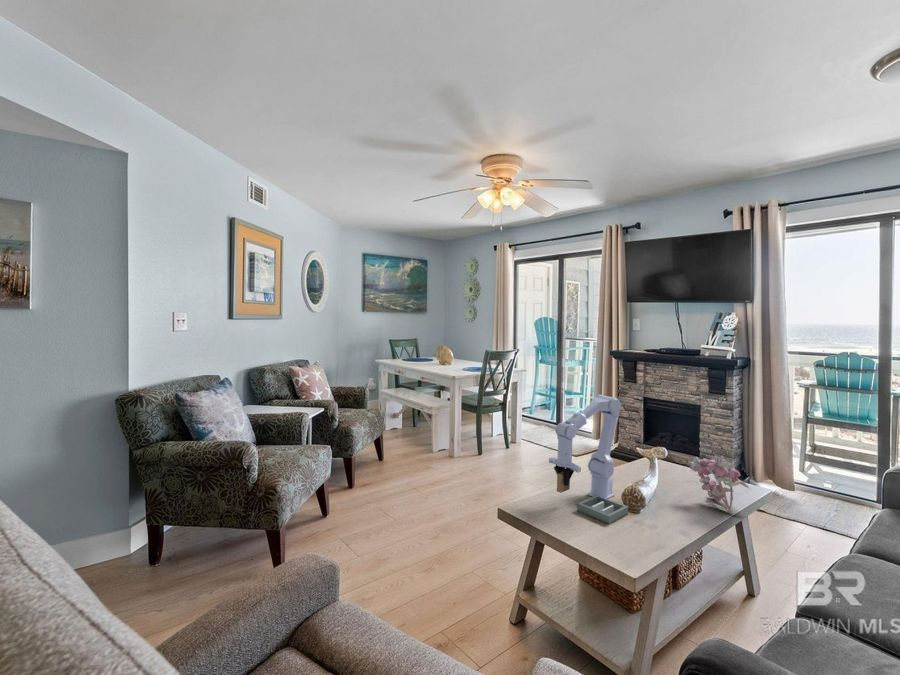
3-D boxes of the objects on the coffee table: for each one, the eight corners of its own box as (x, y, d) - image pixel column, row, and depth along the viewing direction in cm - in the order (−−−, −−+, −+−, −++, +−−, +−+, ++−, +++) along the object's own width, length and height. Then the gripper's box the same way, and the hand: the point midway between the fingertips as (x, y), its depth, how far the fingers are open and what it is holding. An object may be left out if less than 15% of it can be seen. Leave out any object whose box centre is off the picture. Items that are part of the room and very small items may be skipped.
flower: (769, 509, 179) (746, 449, 188) (743, 516, 167) (720, 451, 176) (721, 513, 194) (702, 456, 203) (694, 520, 182) (675, 459, 191)
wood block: (565, 487, 185) (566, 470, 184) (569, 489, 183) (570, 471, 183) (556, 491, 181) (557, 473, 181) (560, 492, 180) (561, 475, 179)
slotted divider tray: (596, 502, 186) (596, 494, 186) (627, 514, 176) (628, 506, 175) (577, 511, 177) (577, 503, 177) (609, 524, 167) (609, 516, 166)
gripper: (544, 449, 184) (543, 481, 185) (574, 458, 173) (572, 492, 174) (555, 446, 189) (553, 477, 190) (584, 455, 178) (583, 488, 179)
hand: (563, 484), depth 182 cm, fingers closed on wood block, 2 cm apart
